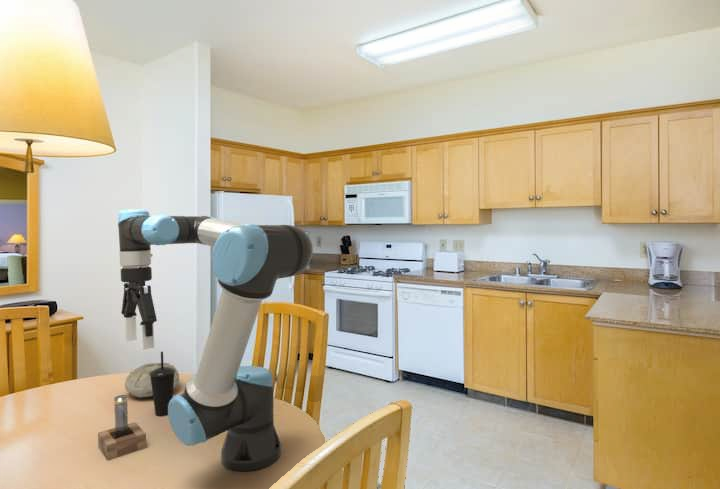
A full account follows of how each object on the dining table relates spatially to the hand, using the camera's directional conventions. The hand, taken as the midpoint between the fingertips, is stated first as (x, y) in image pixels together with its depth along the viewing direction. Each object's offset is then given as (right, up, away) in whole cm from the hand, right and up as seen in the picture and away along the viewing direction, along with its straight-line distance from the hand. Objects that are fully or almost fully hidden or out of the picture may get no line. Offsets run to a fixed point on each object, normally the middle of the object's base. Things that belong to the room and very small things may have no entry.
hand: (139, 344), depth 119 cm
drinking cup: (-3, -27, +21) cm, 35 cm away
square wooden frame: (-5, -28, 0) cm, 28 cm away
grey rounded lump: (-14, -27, +38) cm, 49 cm away
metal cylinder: (-4, -28, 0) cm, 28 cm away
